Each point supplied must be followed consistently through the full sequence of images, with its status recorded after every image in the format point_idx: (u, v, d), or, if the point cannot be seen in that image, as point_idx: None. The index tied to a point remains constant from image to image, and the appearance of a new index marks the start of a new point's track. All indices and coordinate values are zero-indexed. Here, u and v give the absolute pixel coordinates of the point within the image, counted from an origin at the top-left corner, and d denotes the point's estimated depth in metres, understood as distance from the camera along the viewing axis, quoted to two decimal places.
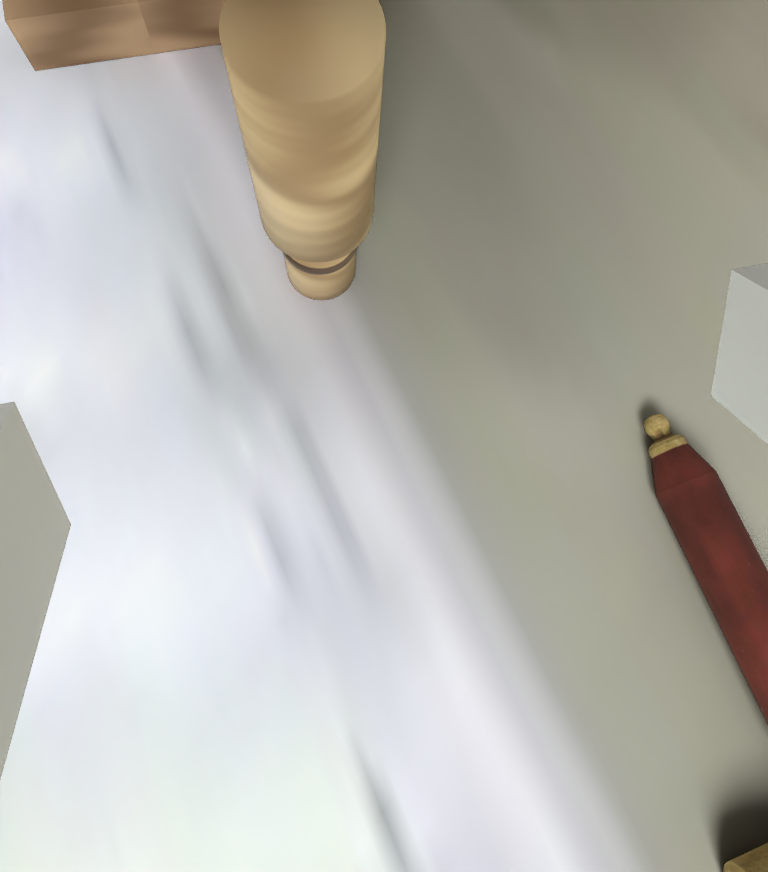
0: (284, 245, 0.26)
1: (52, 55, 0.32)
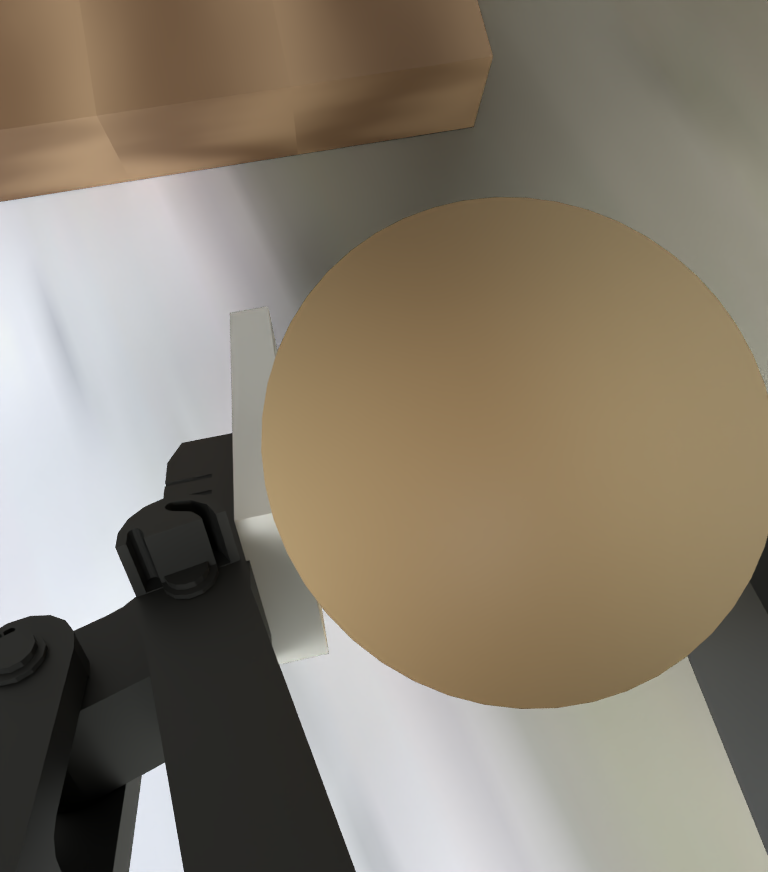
0: None
1: None
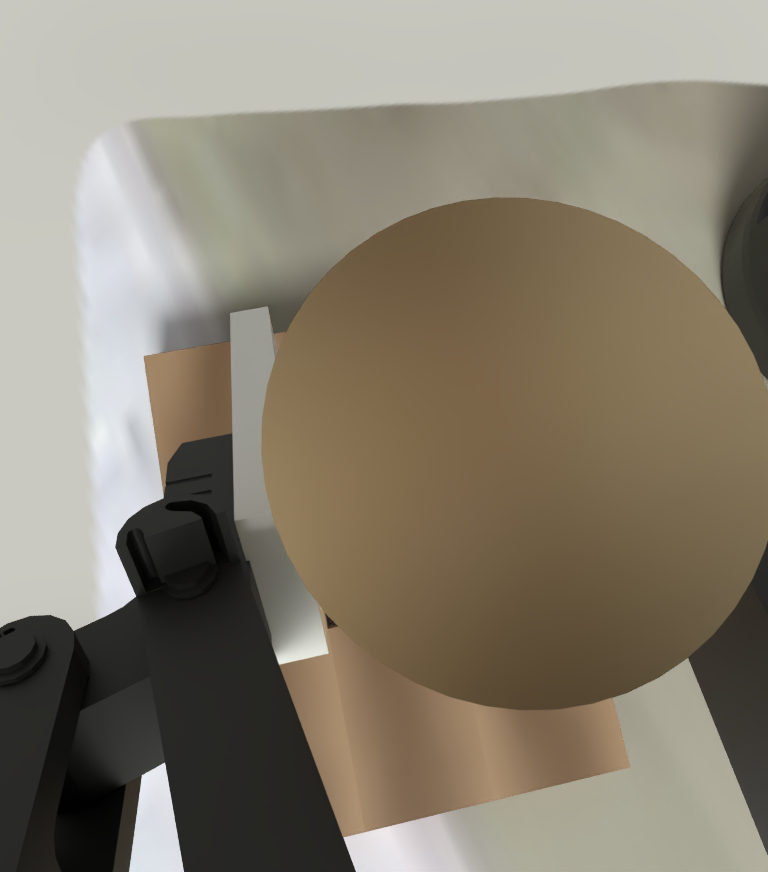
0: None
1: None
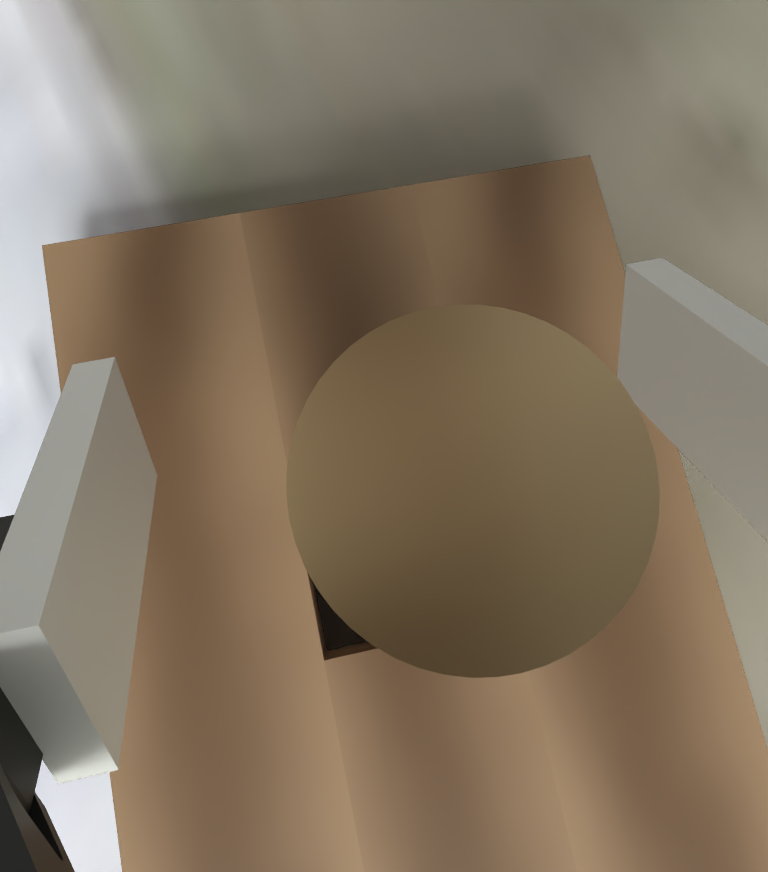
0: None
1: None
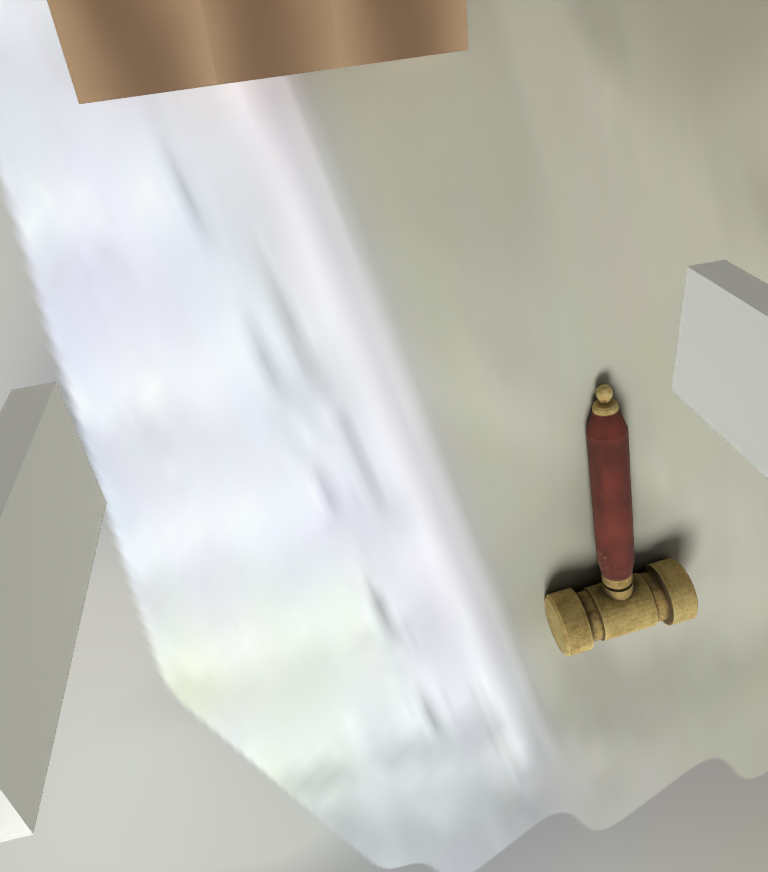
0: None
1: None
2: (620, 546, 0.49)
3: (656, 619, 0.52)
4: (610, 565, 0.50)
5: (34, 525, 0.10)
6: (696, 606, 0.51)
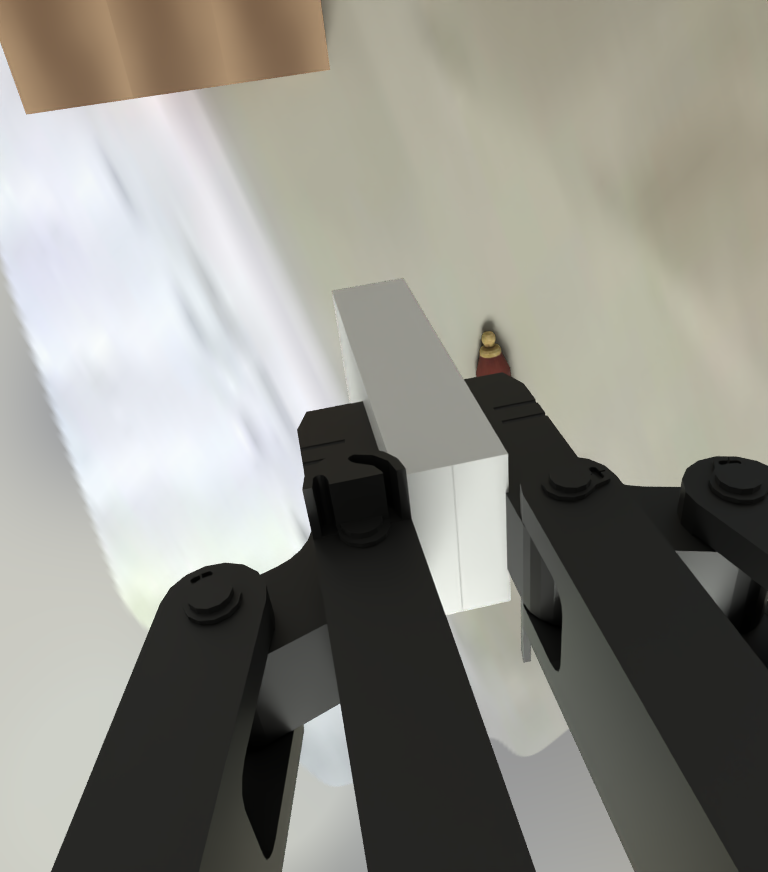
0: None
1: None
2: None
3: None
4: None
5: None
6: None
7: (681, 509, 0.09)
